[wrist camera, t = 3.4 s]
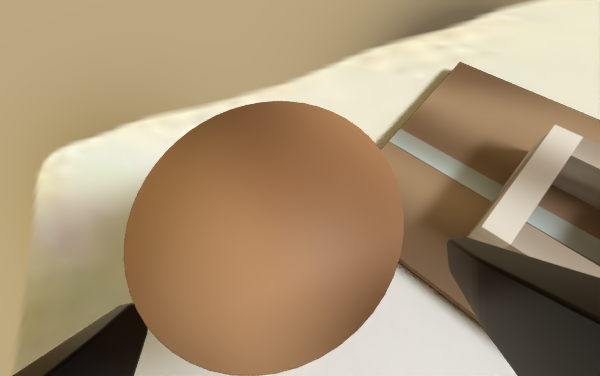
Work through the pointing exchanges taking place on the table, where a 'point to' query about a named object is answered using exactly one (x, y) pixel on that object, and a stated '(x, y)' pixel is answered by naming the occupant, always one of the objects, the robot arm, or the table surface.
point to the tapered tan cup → (264, 238)
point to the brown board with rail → (496, 177)
